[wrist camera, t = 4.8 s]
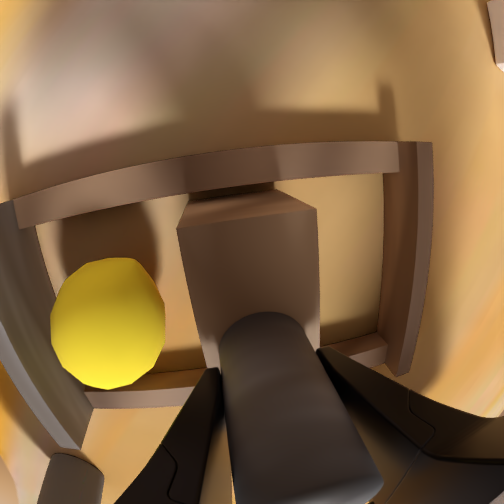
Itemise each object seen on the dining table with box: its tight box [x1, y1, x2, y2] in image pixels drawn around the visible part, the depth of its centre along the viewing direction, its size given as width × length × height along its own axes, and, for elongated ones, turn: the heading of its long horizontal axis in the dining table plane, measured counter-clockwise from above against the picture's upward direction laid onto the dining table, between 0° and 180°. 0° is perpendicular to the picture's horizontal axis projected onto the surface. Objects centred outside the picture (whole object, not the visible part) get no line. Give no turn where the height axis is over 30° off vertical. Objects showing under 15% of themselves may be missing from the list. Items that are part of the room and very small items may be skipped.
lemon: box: [50, 258, 165, 390], centre depth 12 cm, size 7×5×5 cm
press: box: [0, 141, 434, 450], centre depth 12 cm, size 21×13×5 cm, turn 96°
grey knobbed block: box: [176, 189, 384, 504], centre depth 9 cm, size 4×9×11 cm, turn 6°
